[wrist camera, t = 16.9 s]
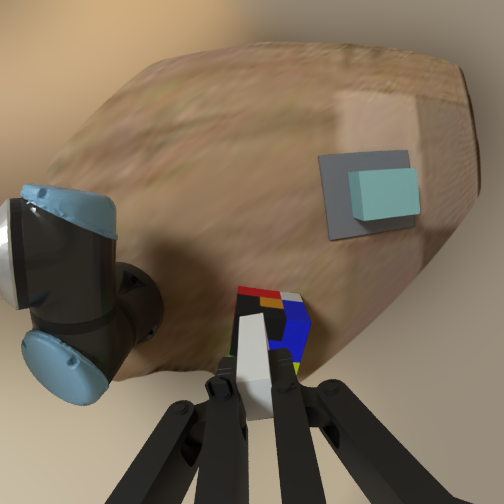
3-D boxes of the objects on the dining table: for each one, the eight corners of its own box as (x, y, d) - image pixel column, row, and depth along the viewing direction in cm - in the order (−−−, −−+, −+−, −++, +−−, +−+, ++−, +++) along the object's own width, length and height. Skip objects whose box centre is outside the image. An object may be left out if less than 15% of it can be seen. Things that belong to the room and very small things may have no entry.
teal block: (363, 221, 37) (419, 213, 37) (358, 171, 35) (416, 167, 35) (353, 217, 41) (405, 210, 41) (347, 172, 40) (401, 168, 40)
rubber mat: (328, 239, 43) (329, 240, 42) (317, 156, 40) (318, 155, 39) (413, 225, 42) (415, 226, 42) (405, 150, 39) (407, 150, 39)
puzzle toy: (299, 293, 45) (311, 322, 35) (287, 345, 47) (294, 380, 38) (238, 285, 45) (235, 313, 35) (231, 338, 47) (226, 373, 37)
